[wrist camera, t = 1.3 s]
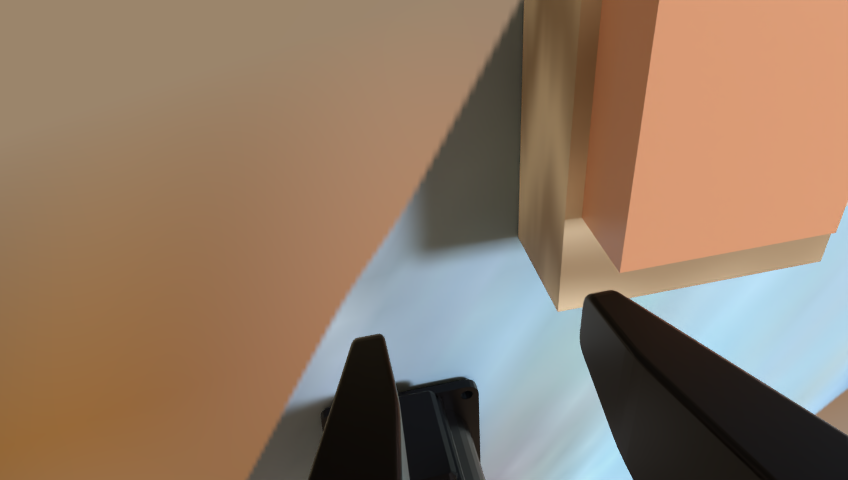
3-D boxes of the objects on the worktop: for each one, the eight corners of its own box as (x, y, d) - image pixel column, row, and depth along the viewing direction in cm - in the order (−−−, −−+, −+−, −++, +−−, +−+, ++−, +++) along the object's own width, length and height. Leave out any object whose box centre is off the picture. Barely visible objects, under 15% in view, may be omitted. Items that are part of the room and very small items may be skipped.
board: (749, 195, 25) (820, 261, 22) (518, 237, 24) (558, 311, 21) (907, -383, 16) (1073, -414, 12) (532, -358, 14) (610, -384, 11)
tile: (777, 183, 20) (835, 232, 18) (581, 217, 19) (620, 273, 17) (884, -178, 14) (986, -164, 12) (616, -149, 14) (678, -130, 12)
